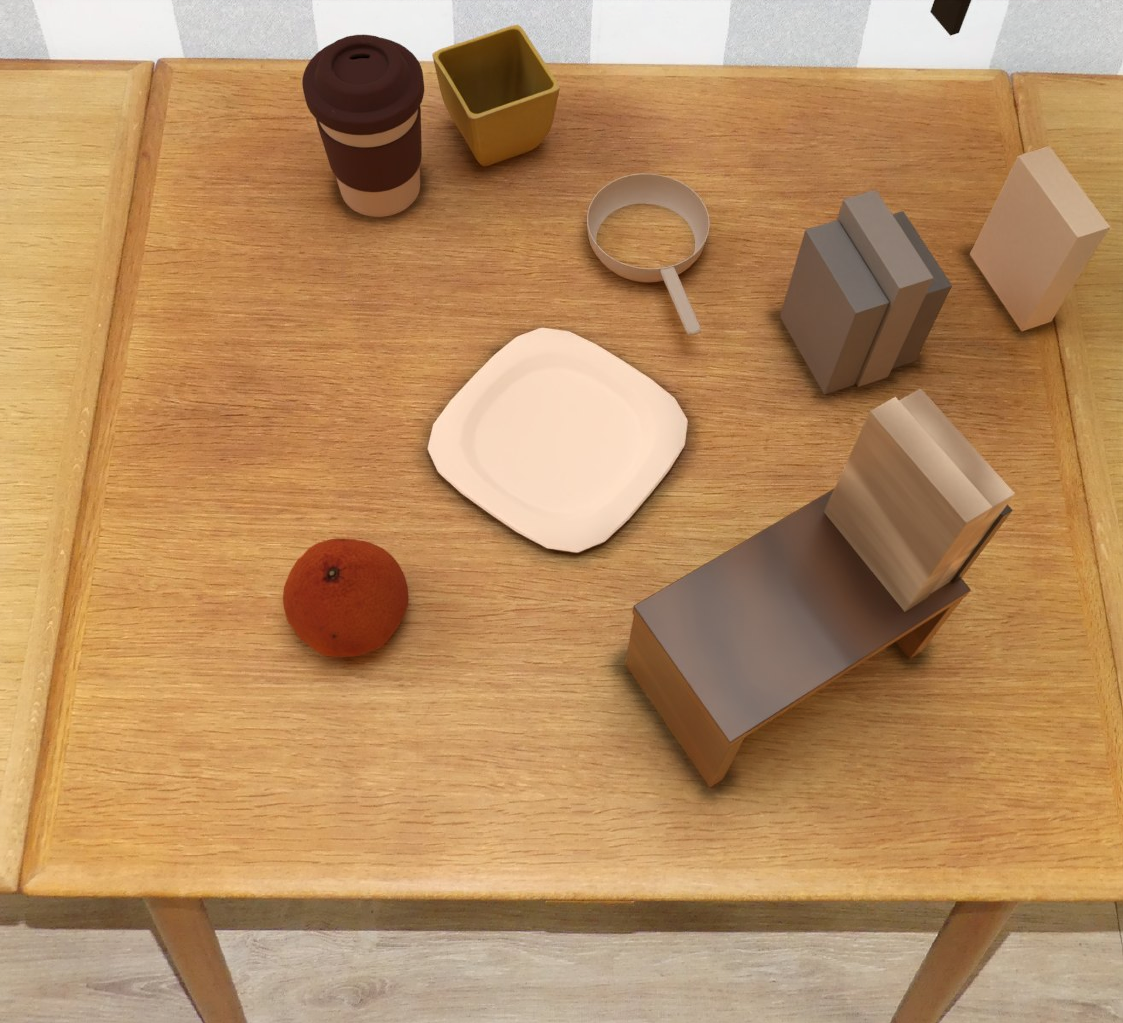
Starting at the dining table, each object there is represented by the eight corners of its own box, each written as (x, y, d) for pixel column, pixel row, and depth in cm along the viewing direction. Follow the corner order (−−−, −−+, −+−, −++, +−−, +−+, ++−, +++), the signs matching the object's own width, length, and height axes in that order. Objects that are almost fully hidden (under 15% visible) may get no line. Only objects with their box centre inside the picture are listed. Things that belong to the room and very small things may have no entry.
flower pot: (560, 160, 115) (562, 87, 107) (475, 191, 113) (470, 118, 105) (520, 98, 118) (519, 22, 110) (437, 126, 116) (429, 51, 108)
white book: (967, 258, 110) (1017, 155, 99) (996, 249, 111) (1049, 145, 99) (1019, 335, 106) (1077, 237, 95) (1048, 325, 107) (1110, 227, 95)
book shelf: (832, 541, 97) (921, 361, 74) (921, 652, 93) (1044, 497, 70) (621, 667, 92) (649, 515, 69) (706, 791, 88) (764, 671, 65)
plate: (402, 460, 100) (400, 450, 98) (538, 317, 106) (538, 305, 105) (580, 585, 95) (581, 576, 93) (711, 426, 101) (713, 416, 100)
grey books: (776, 318, 107) (808, 209, 94) (867, 289, 108) (910, 179, 96) (824, 401, 103) (863, 300, 90) (917, 370, 104) (968, 266, 92)
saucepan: (682, 189, 113) (687, 160, 110) (749, 344, 105) (756, 318, 102) (571, 213, 112) (572, 184, 108) (630, 372, 104) (633, 346, 100)
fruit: (276, 655, 92) (254, 614, 85) (318, 552, 96) (301, 505, 88) (388, 686, 91) (376, 647, 84) (426, 580, 95) (417, 535, 88)
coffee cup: (402, 247, 110) (383, 123, 96) (306, 209, 111) (275, 82, 98) (453, 171, 114) (442, 43, 100) (360, 136, 115) (337, 5, 102)
